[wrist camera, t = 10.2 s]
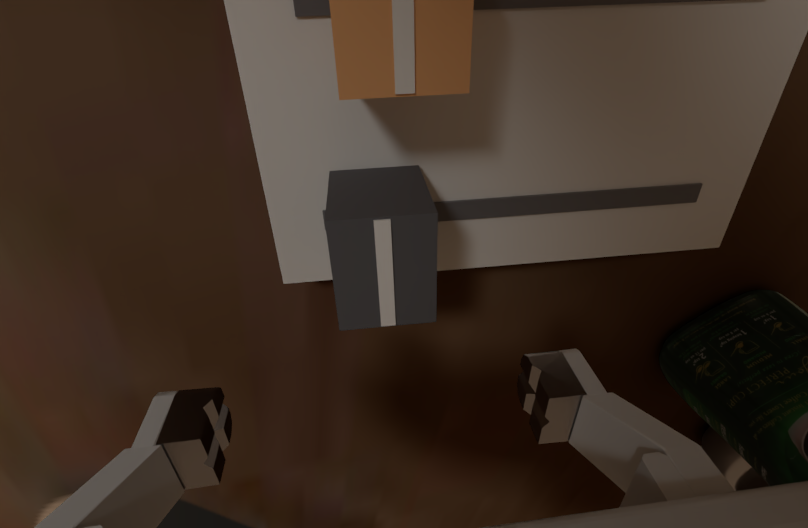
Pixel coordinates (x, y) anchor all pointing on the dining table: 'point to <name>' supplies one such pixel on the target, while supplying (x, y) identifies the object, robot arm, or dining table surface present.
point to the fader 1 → (401, 47)
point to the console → (529, 125)
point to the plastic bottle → (730, 462)
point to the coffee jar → (748, 379)
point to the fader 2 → (382, 246)
